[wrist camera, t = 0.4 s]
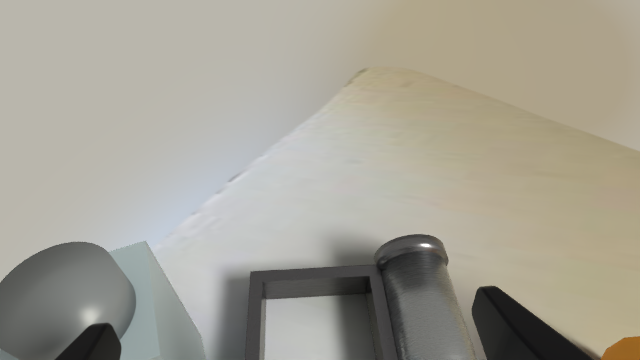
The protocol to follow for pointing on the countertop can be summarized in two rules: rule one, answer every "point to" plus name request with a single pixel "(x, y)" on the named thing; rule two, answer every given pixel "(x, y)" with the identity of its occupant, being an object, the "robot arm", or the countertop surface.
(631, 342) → the bracket
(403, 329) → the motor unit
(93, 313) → the grey capped bottle
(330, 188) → the countertop surface
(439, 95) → the countertop surface
